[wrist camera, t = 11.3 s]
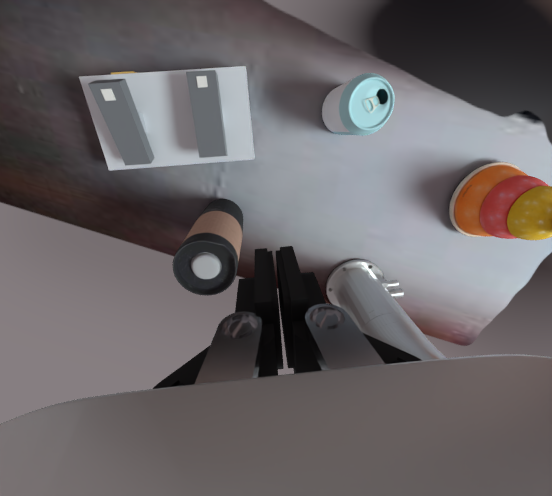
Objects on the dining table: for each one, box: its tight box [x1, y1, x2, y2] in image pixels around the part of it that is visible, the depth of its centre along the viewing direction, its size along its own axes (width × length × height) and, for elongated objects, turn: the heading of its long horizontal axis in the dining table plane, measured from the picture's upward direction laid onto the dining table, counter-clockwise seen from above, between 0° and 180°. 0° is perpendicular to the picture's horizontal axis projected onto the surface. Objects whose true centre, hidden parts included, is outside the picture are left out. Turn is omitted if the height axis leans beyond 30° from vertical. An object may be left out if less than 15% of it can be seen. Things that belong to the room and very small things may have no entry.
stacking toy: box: [449, 162, 552, 240], centre depth 42 cm, size 14×14×20 cm
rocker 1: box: [88, 79, 155, 166], centre depth 34 cm, size 4×10×2 cm, turn 4°
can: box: [322, 73, 395, 136], centre depth 37 cm, size 7×7×12 cm
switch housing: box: [79, 66, 255, 170], centre depth 39 cm, size 22×12×6 cm, turn 94°
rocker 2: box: [186, 70, 228, 158], centre depth 34 cm, size 4×10×2 cm, turn 4°
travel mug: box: [173, 199, 243, 295], centre depth 40 cm, size 8×8×20 cm
